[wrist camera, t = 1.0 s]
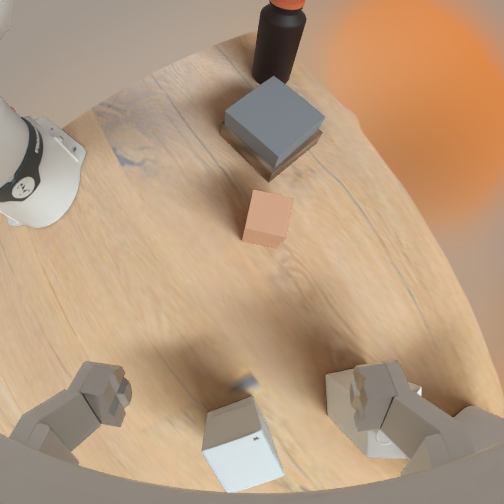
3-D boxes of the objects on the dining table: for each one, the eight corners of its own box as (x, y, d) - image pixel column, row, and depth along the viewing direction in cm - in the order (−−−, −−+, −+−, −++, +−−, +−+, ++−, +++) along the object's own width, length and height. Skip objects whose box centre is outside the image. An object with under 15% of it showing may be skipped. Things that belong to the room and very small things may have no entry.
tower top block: (224, 125, 43) (224, 110, 40) (270, 91, 45) (273, 75, 41) (274, 169, 43) (278, 156, 39) (317, 130, 45) (325, 116, 41)
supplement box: (205, 411, 40) (198, 449, 28) (253, 394, 41) (263, 427, 29) (225, 451, 40) (226, 496, 27) (271, 434, 41) (287, 476, 28)
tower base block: (220, 136, 47) (220, 123, 43) (269, 101, 49) (272, 88, 45) (268, 183, 47) (272, 173, 43) (315, 144, 49) (322, 132, 45)
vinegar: (288, 90, 49) (314, 6, 30) (250, 85, 49) (262, -3, 29) (290, 65, 51) (313, -16, 31) (254, 60, 50) (266, -24, 30)
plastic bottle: (416, 442, 42) (521, 505, 14) (473, 395, 44) (582, 424, 16) (428, 489, 40) (511, 550, 12) (481, 445, 42) (570, 482, 15)
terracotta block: (241, 241, 45) (245, 228, 37) (248, 208, 46) (253, 189, 38) (275, 248, 45) (286, 237, 37) (282, 215, 46) (293, 198, 38)
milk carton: (367, 364, 43) (442, 394, 25) (369, 406, 42) (437, 450, 24) (324, 373, 43) (384, 414, 24) (327, 416, 42) (381, 473, 23)
